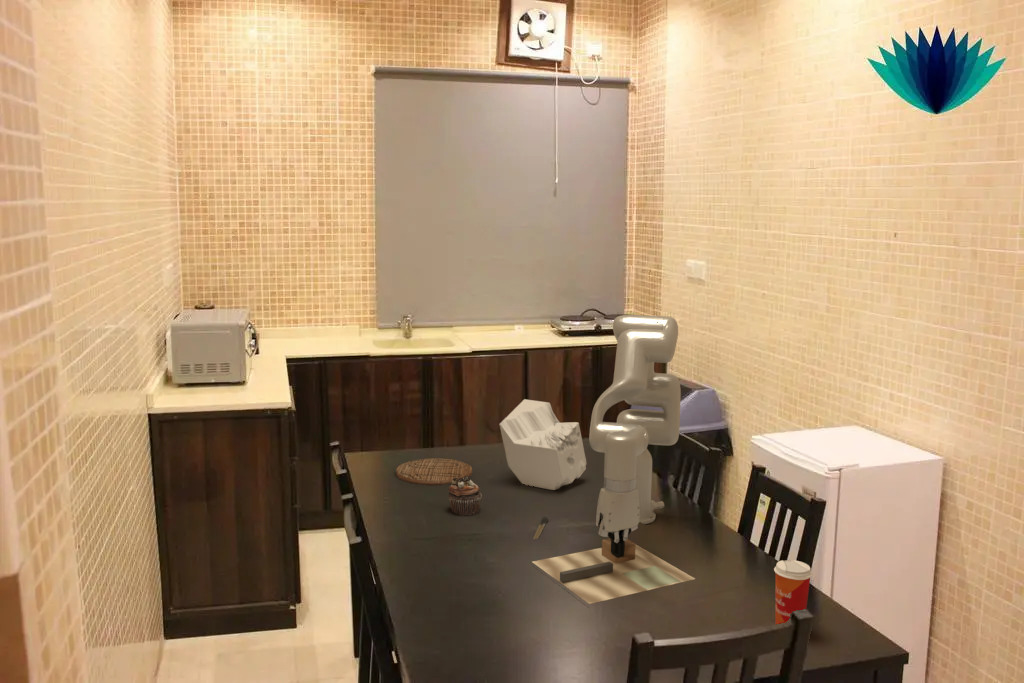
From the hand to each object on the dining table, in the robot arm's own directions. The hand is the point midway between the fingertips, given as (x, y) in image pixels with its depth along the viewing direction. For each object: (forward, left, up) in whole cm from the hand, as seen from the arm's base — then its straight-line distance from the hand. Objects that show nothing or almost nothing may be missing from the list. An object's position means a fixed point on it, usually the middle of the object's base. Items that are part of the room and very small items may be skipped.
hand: (617, 555), depth 213 cm
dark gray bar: (+9, +1, -4) cm, 10 cm away
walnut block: (-4, -6, -4) cm, 8 cm away
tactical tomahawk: (+3, -31, -5) cm, 31 cm away
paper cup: (-16, +40, -5) cm, 44 cm away
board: (+2, 0, -5) cm, 5 cm away
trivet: (+8, -93, -5) cm, 93 cm away
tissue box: (-18, -67, -5) cm, 70 cm away
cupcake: (+15, -56, -5) cm, 58 cm away
